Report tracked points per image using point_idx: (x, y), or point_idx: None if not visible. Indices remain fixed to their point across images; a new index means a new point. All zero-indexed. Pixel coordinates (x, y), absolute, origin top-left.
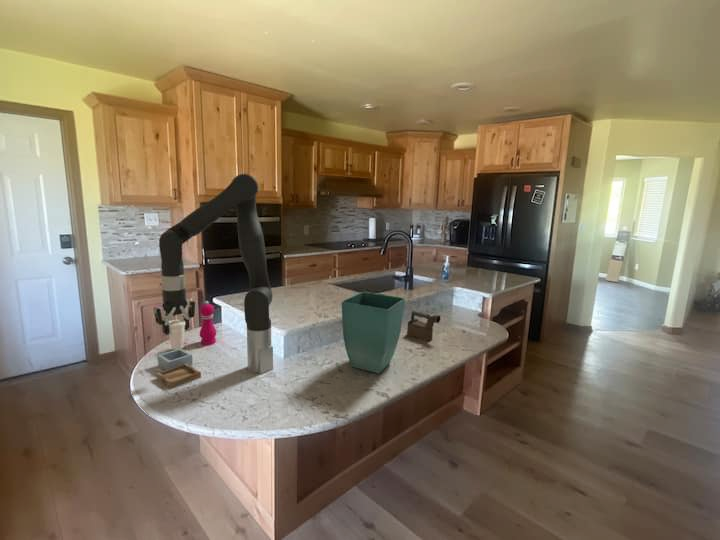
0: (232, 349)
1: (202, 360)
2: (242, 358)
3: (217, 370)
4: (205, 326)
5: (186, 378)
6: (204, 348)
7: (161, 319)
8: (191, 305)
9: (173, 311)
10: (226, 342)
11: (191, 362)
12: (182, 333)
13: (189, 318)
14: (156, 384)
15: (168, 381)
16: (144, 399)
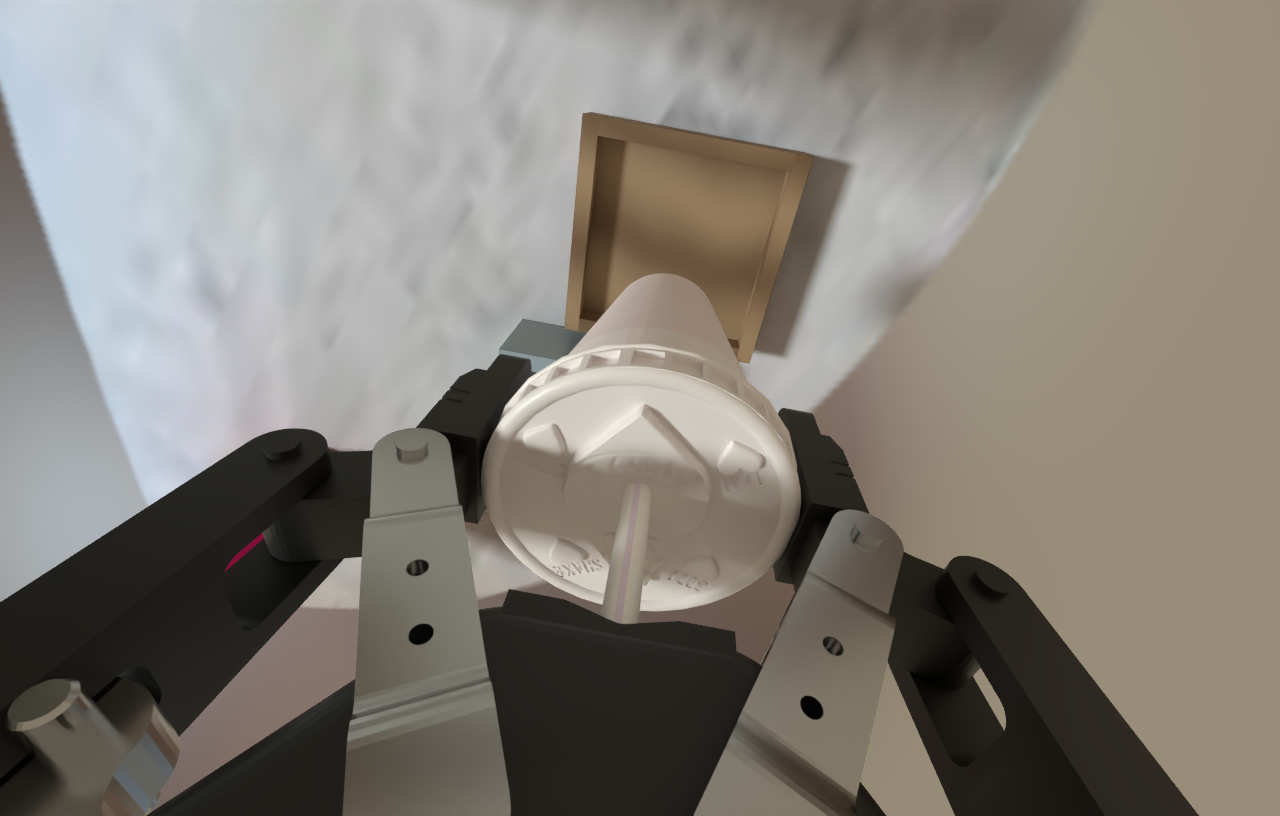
0: (228, 294)
1: (447, 324)
2: (216, 107)
3: (450, 104)
4: (252, 547)
5: (697, 134)
6: (364, 436)
7: (1018, 655)
8: (6, 718)
9: (763, 753)
10: (226, 400)
11: (523, 328)
12: (624, 319)
13: (387, 440)
14: (799, 290)
15: (799, 199)
16: (982, 179)
